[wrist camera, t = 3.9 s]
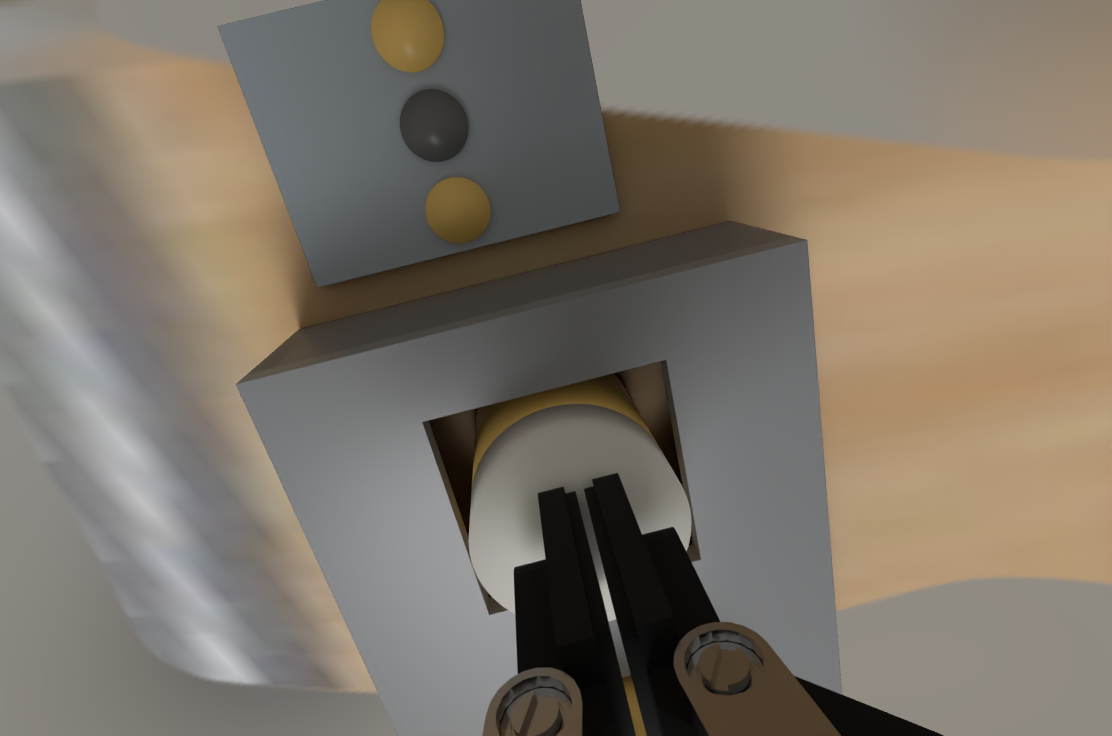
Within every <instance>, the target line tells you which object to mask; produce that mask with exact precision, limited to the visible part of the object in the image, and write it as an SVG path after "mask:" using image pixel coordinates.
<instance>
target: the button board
mask: <svg viewBox="0 0 1112 736" xmlns="http://www.w3.org/2000/svg"><path fill="white" fill-rule="evenodd" d="M659 361H661V366H662V372H663V377H664V383H665V389H666V394H667V400H668V405H669V411H670V417H671V422H672V428H673V433H674V439H675V445H676V450H677V456H678V462H679V467H680V473H681V478H682V484H683V489H684V491H685V494H686V496H687V499H688V503H689V506H690V511H691V534H692V540H693V545H690V546H688V549H687V554H688V556H689V558H690V560H691V562H692V564H693V566H694V568H695V570H696V572H697V574H698V577H699V579H700V581H701V583H702V585H703V587H704V589H705V591H706V593H707V595H708V597H709V599H710V601H711V603H712V605H713V607H714V609H715V611H716V614H717V616H718V618H719V620H720V622H731V623H735V624H739V625H743V626H745V627H747V628H749V629H751V630H753V631H755V632H757V633H758V634H759V635H760V636H761V637H762V638H763V639H764V640H765V641H767V642H768V644H769V645H770V646H771V647H772V649H773V650H774V651H775V653H776V654H777V655H778V656H779V658H780V659H781V660H782V661H783V663H784V664H785V665H786V666H787V668H788V669H789V670H790V672H791V673H792V674H793V675H794V676H796V677H799V678H801V679H804V680H806V681H809V682H811V683H814V684H816V685H819V686H821V687H824V688H826V689H829V690H831V691H834V692H836V693H839V694H841V695H842V686H841V673H840V660H839V647H838V634H837V621H836V608H835V595H834V582H833V569H832V556H831V543H830V530H829V517H828V504H827V491H826V478H825V465H824V452H823V439H822V426H821V413H820V400H819V387H818V374H817V361H816V348H815V335H814V322H813V309H812V296H811V283H810V270H809V257H808V244H807V240H805V239H801V238H797V237H793V236H789V235H785V234H781V233H777V232H773V231H769V230H765V229H761V228H757V227H753V226H749V225H745V224H741V223H737V222H733V221H729V222H725V223H721V224H717V225H713V226H709V227H705V228H701V229H697V230H693V231H689V232H685V233H681V234H677V235H673V236H669V237H665V238H661V239H657V240H653V241H649V242H645V243H641V244H637V245H633V246H629V247H625V248H621V249H617V250H613V251H609V252H605V253H601V254H597V255H593V256H589V257H585V258H581V259H578V260H574V261H570V262H566V263H562V264H558V265H554V266H550V267H546V268H542V269H538V270H534V271H530V272H526V273H522V274H518V275H514V276H510V277H506V278H502V279H498V280H494V281H490V282H486V283H482V284H478V285H474V286H470V287H466V288H462V289H458V290H454V291H450V292H446V293H442V294H438V295H434V296H430V297H426V298H422V299H418V300H414V301H410V302H406V303H402V304H398V305H395V306H391V307H387V308H383V309H379V310H375V311H371V312H367V313H363V314H359V315H355V316H351V317H347V318H343V319H339V320H335V321H331V322H327V323H323V324H319V325H315V326H311V327H307V328H303V329H299V330H298V331H297V332H295V333H294V334H293V335H292V336H291V337H290V338H289V339H287V340H286V341H285V342H284V343H283V344H282V345H280V346H279V347H278V348H277V349H276V350H275V351H274V352H272V353H271V354H270V355H269V356H268V357H267V358H266V359H264V360H263V361H262V362H261V363H260V364H259V365H258V366H256V367H255V368H254V369H253V370H252V371H251V372H249V373H248V374H247V375H246V376H245V377H244V378H243V379H241V380H240V381H239V382H238V383H237V384H236V386H237V388H238V390H239V393H240V395H241V397H242V399H243V401H244V403H245V406H246V408H247V410H248V412H249V414H250V416H251V419H252V421H253V423H254V425H255V427H256V429H257V432H258V434H259V436H260V438H261V440H262V442H263V445H264V447H265V449H266V451H267V453H268V455H269V458H270V460H271V462H272V464H273V466H274V468H275V471H276V473H277V475H278V477H279V479H280V481H281V484H282V486H283V488H284V490H285V492H286V494H287V497H288V499H289V501H290V503H291V505H292V507H293V510H294V512H295V514H296V516H297V518H298V520H299V523H300V525H301V527H302V529H303V531H304V533H305V536H306V538H307V540H308V542H309V544H310V546H311V549H312V551H313V553H314V555H315V557H316V559H317V562H318V564H319V566H320V568H321V570H322V572H323V575H324V577H325V579H326V581H327V583H328V585H329V588H330V590H331V592H332V594H333V596H334V599H335V601H336V603H337V605H338V607H339V609H340V612H341V614H342V616H343V618H344V620H345V622H346V625H347V627H348V629H349V631H350V633H351V635H352V638H353V640H354V642H355V644H356V646H357V648H358V651H359V653H360V655H361V657H362V659H363V661H364V664H365V666H366V668H367V670H368V672H369V674H370V677H371V679H372V681H373V683H374V685H375V687H376V690H377V692H378V694H379V696H380V698H381V700H382V702H383V705H384V707H385V709H386V711H387V713H388V715H389V718H390V720H391V722H392V724H393V726H394V729H395V731H396V733H397V735H398V736H482V734H483V728H484V723H485V717H486V713H487V710H488V707H489V704H490V701H491V700H492V698H493V697H494V695H495V694H496V692H497V691H498V689H499V688H500V687H501V686H503V685H504V684H505V683H506V682H507V681H508V680H509V679H510V678H512V677H514V676H516V675H518V670H517V646H516V621H515V614H514V613H512V612H511V611H509V610H508V609H506V608H504V607H503V606H502V605H500V604H499V603H498V602H497V601H496V600H495V599H494V598H489V596H488V593H487V591H486V589H485V588H484V587H483V585H482V584H481V582H480V580H479V579H478V577H477V575H476V572H475V570H474V568H473V565H472V561H471V557H470V552H469V542H468V541H469V537H468V535H467V532H466V529H465V526H464V523H463V520H462V517H461V514H460V511H459V508H458V505H457V502H456V499H455V497H454V494H453V491H452V488H451V485H450V482H449V479H448V476H447V473H446V470H445V467H444V464H443V461H442V459H441V456H440V453H439V450H438V447H437V444H436V441H435V438H434V435H433V432H432V429H431V426H430V423H429V420H432V419H436V418H440V417H444V416H448V415H452V414H456V413H460V412H464V411H468V410H472V409H475V408H479V407H483V406H487V405H491V404H495V403H499V402H503V401H507V400H511V399H515V398H519V397H522V396H526V395H530V394H534V393H538V392H542V391H546V390H550V389H554V388H558V387H562V386H565V385H569V384H573V383H577V382H581V381H585V380H589V379H593V378H597V377H601V376H605V375H609V374H612V373H616V372H620V371H624V370H628V369H632V368H636V367H640V366H644V365H648V364H652V363H656V362H659ZM609 626H610V630H611V634H612V638H613V642H614V646H615V651H616V655H617V659H618V663H619V667H620V671H621V675H622V678H623V677H627V676H631V674H630V670H629V666H628V662H627V658H626V655H625V651H624V647H623V643H622V639H621V635H620V632H619V628H618V624H617V620H616V619H615V620H612V621H609Z"/></svg>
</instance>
